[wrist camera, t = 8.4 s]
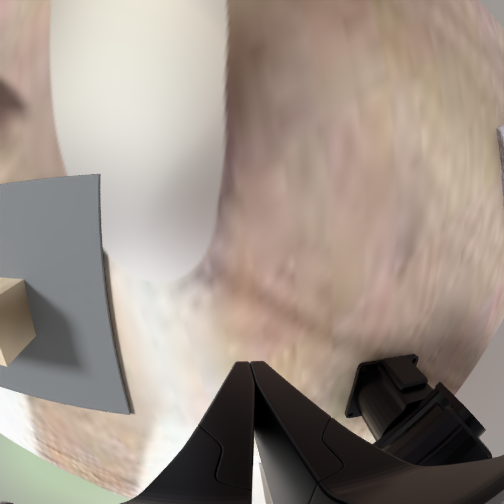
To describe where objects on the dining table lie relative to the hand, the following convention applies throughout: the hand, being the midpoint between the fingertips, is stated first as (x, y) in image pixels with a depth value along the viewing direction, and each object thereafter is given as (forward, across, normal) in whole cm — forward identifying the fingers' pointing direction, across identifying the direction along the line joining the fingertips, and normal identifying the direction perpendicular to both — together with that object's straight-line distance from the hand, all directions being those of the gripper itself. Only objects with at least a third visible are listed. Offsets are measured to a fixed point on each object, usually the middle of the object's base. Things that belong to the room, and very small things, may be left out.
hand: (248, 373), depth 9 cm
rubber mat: (+12, +20, +4) cm, 24 cm away
